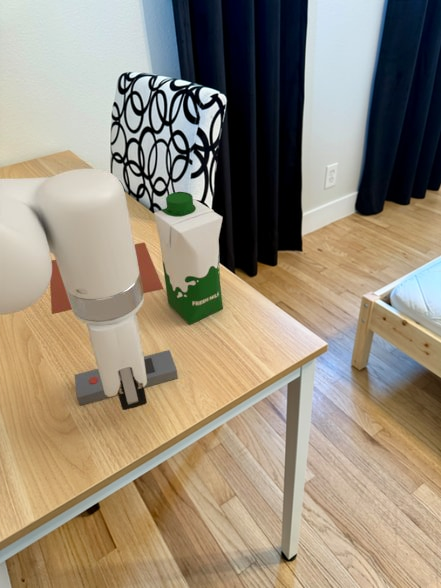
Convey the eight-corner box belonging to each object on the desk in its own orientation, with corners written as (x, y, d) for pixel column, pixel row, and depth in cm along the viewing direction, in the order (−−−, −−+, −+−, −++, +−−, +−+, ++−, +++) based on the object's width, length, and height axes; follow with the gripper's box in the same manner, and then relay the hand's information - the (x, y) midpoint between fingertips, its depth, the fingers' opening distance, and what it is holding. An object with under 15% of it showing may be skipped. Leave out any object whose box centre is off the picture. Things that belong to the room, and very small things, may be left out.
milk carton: (201, 285, 80) (195, 184, 68) (230, 310, 74) (229, 204, 62) (161, 303, 76) (146, 199, 64) (188, 331, 70) (177, 222, 58)
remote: (79, 406, 59) (76, 396, 58) (77, 382, 62) (74, 373, 61) (178, 378, 63) (176, 369, 61) (170, 357, 66) (169, 348, 65)
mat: (52, 314, 75) (51, 313, 75) (49, 261, 89) (49, 261, 89) (163, 289, 80) (163, 288, 80) (144, 242, 94) (144, 242, 93)
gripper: (65, 261, 49) (98, 369, 61) (73, 348, 38) (113, 461, 49) (129, 248, 51) (150, 356, 62) (156, 327, 40) (176, 441, 51)
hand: (134, 402), depth 56 cm, fingers closed
